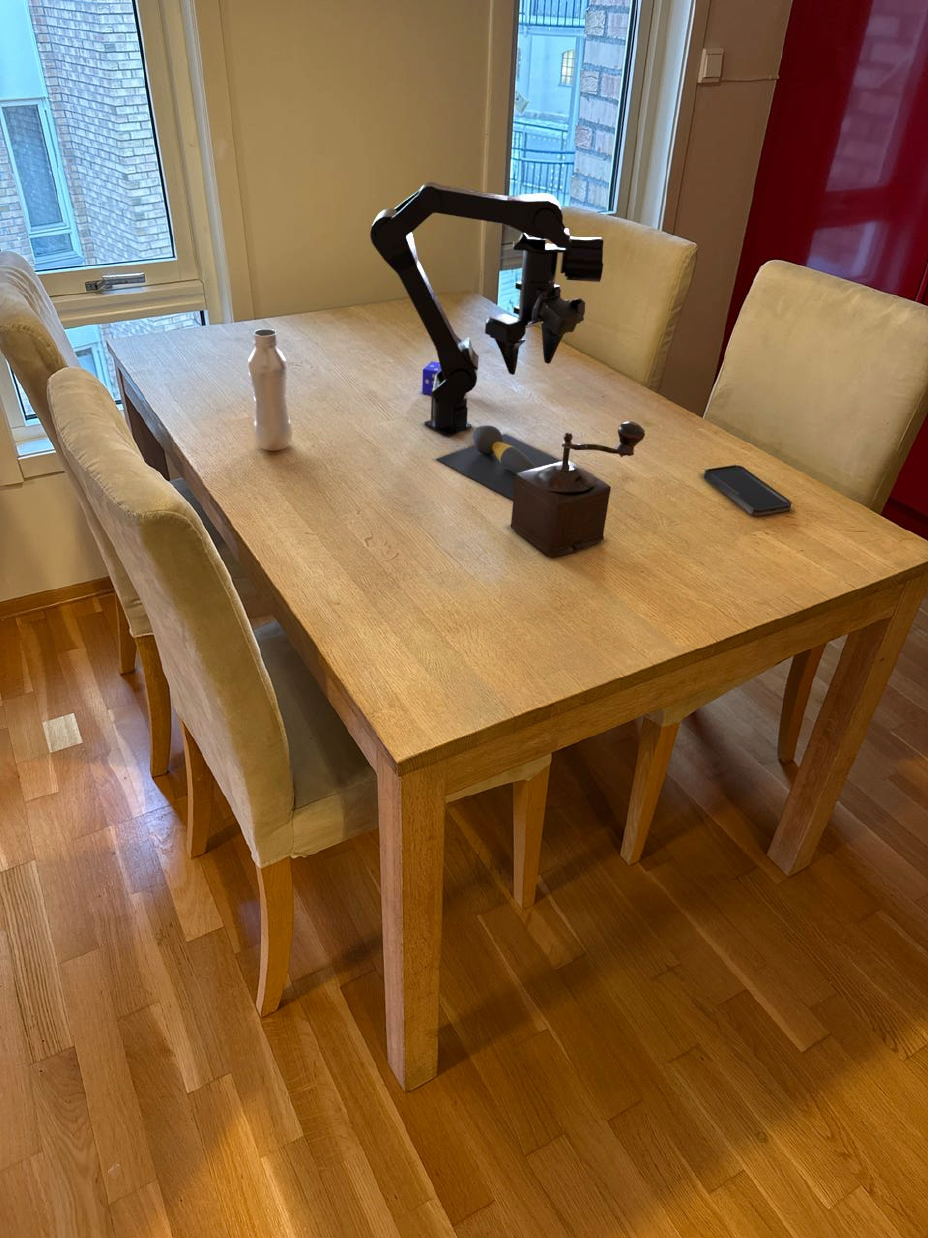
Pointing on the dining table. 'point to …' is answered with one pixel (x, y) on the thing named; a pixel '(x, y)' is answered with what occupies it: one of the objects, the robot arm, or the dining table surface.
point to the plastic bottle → (269, 392)
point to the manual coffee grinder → (566, 499)
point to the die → (429, 377)
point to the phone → (747, 490)
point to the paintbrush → (500, 449)
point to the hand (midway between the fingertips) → (529, 368)
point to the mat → (494, 465)
